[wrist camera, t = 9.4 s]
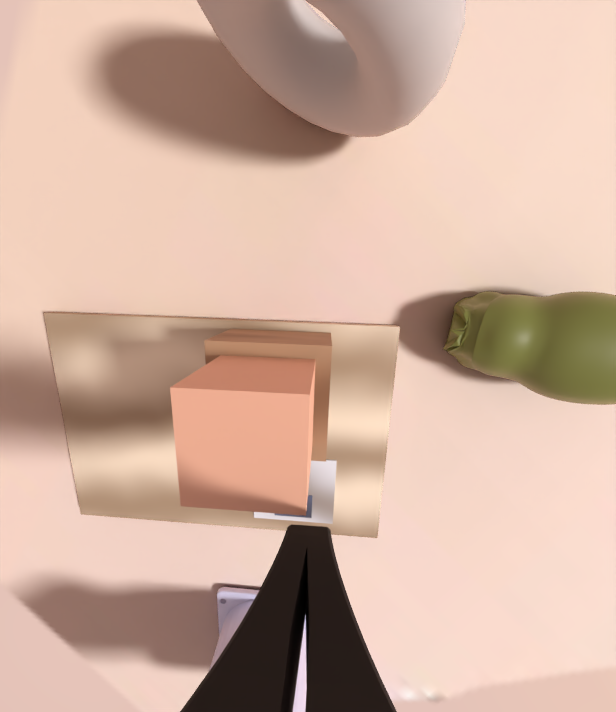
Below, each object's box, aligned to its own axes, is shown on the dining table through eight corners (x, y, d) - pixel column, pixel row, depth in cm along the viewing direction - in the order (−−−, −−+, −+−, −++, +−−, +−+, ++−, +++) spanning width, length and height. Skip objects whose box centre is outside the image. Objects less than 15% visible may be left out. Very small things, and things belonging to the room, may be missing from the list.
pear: (686, 436, 12) (442, 387, 14) (596, 394, 17) (425, 362, 19) (755, 307, 11) (474, 272, 13) (635, 302, 16) (446, 277, 18)
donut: (224, 94, 15) (42, -248, 5) (248, 20, 14) (86, -539, 5) (391, 180, 16) (498, 2, 6) (424, 112, 15) (611, -224, 5)
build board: (375, 528, 21) (377, 539, 20) (89, 506, 22) (79, 515, 21) (396, 325, 17) (400, 327, 16) (55, 311, 19) (40, 313, 18)
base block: (326, 424, 18) (326, 461, 14) (234, 419, 19) (210, 453, 15) (331, 332, 17) (332, 345, 13) (231, 328, 17) (204, 340, 13)
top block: (312, 446, 14) (305, 515, 10) (224, 440, 15) (180, 506, 10) (315, 359, 13) (309, 394, 9) (220, 355, 13) (170, 387, 9)
